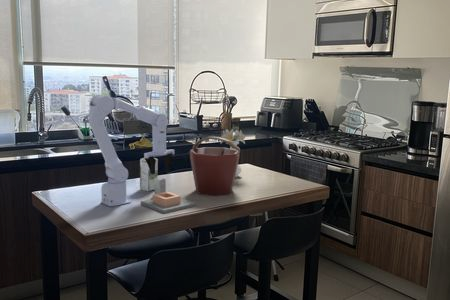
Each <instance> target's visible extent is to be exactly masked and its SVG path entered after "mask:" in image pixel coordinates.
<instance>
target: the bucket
mask: <svg viewBox="0 0 450 300" xmlns="http://www.w3.org/2000/svg"><path fill="white" fill-rule="evenodd" d="M209 139H213V140H214V139H215V140H218V141H223V142H224V143H225V144H226V143H228V144H227V145H229V146H231V147H232V148H234V149H236V150H234V149H230V147H229V148H228V147H211V146H210V147H208V146H207V147H205V146H204V147H198V146H199V145H200V144H201V143H203V142H204V141H206V140H209ZM223 142H222V143H223ZM240 153H241V148H240V147H239V146H238V145H235V144H234V143H233V142H232V141H230V140H227V139H224V138H221V137H220V136H206V137H204V138H203V137H202V139H199V140H198V141H195V143H194V144H193V145H192V149H190V150H189V160H190V165H191V170H192V175H193V180H194V181H193V182H194V185H195V190H196V192H197V193H198V194H199V195H205V196H210V197H211V196H212V197H218V196H226V195H231V193H232V192H233V188H234V183H235V180H236V179H235V178H236V177H235V175H236V170H237V166H238V165H239V159H240Z"/></svg>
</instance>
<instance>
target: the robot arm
mask: <svg viewBox="0 0 450 300" xmlns="http://www.w3.org/2000/svg"><path fill="white" fill-rule="evenodd" d="M88 104H89V105H88V106H89V112H88V119H87V122H88V124H89V126H90V129H91V132H92V133H93V136H94V138H95V140H96V143H97V145H98V147H99V151H100V152H101V154H102V156H103V157H102V158H103V159H104V161H105V162H104V166H105V175H106V177H108V178H107V182H105V183H104V182H103V184H102V185H101V190H100V191H101V201H100V203H101V204H103V205H105V206H108V207H116V206H120V205H125V204H131V202H132V201H131V200H128V199H127V179H128V178H129V170H128V169H127V168H126V167H125V166H124V165H123V163H122V161H121V159H119V157H118V155H117V152H116V149H115V147H114V145H113V143H112V140H111V137H110V134H109V132H108V130H107V128H106V126H105V123H104V121H105V119H106V118H107V117H108V115H109V114H110V113H111V112H112V111H113V110H118V109H119V110H122V111H124V112H127V113H131V115H132V114H133V115H134V116H135V117H136V119H137V120H140V121H141V122H145V123H147V124H150V125H151V127H152V130H151V132H152V151H149V152H144V153H143V156H144V157H143V158H145V160H146V162H147V164H148V166H149V169H150V173H151V174H155V163H156V159H157V158H156V159H154V158H155V157H162V158H163V163H164V171H165V172H168V173H169V172H170V170H171V165H172V162H173V160H174V158H175V149H167V126H168V124H169V119H168V117H167V115H166V113H165V114H164V113H160V112H158V110H154V109H151V108H149V106H147V105H140V106H135V105H134V104H132V103H129V102H126V101H124V100H123V99H120V98H116V97H111V96H109V95H103V94H96V95H94V96H93V97H92V98H91V100H90V101H89V103H88Z"/></svg>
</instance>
